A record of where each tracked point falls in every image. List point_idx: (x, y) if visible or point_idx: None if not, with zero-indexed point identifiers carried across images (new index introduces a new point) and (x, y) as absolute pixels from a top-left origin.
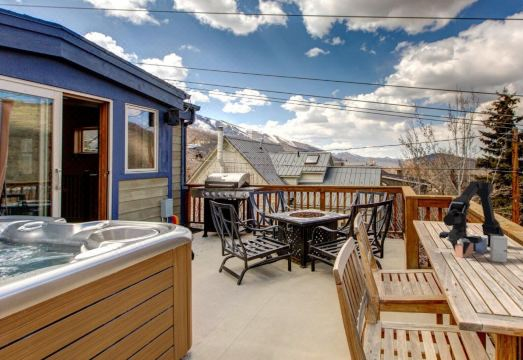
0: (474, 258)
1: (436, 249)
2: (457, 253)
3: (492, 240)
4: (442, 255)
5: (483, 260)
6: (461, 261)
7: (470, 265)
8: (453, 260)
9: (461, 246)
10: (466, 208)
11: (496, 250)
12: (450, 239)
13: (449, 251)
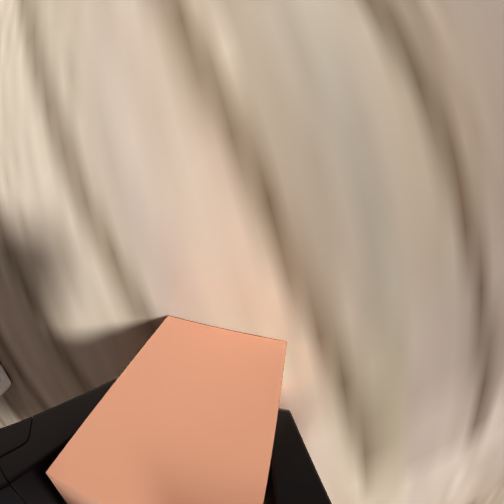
0: (72, 358)
1: (492, 470)
2: (233, 372)
3: None
4: (476, 278)
5: (5, 316)
6: (113, 70)
7: (25, 5)
8: (230, 30)
9: (71, 477)
10: None
11: None
12: None
13: (383, 491)
